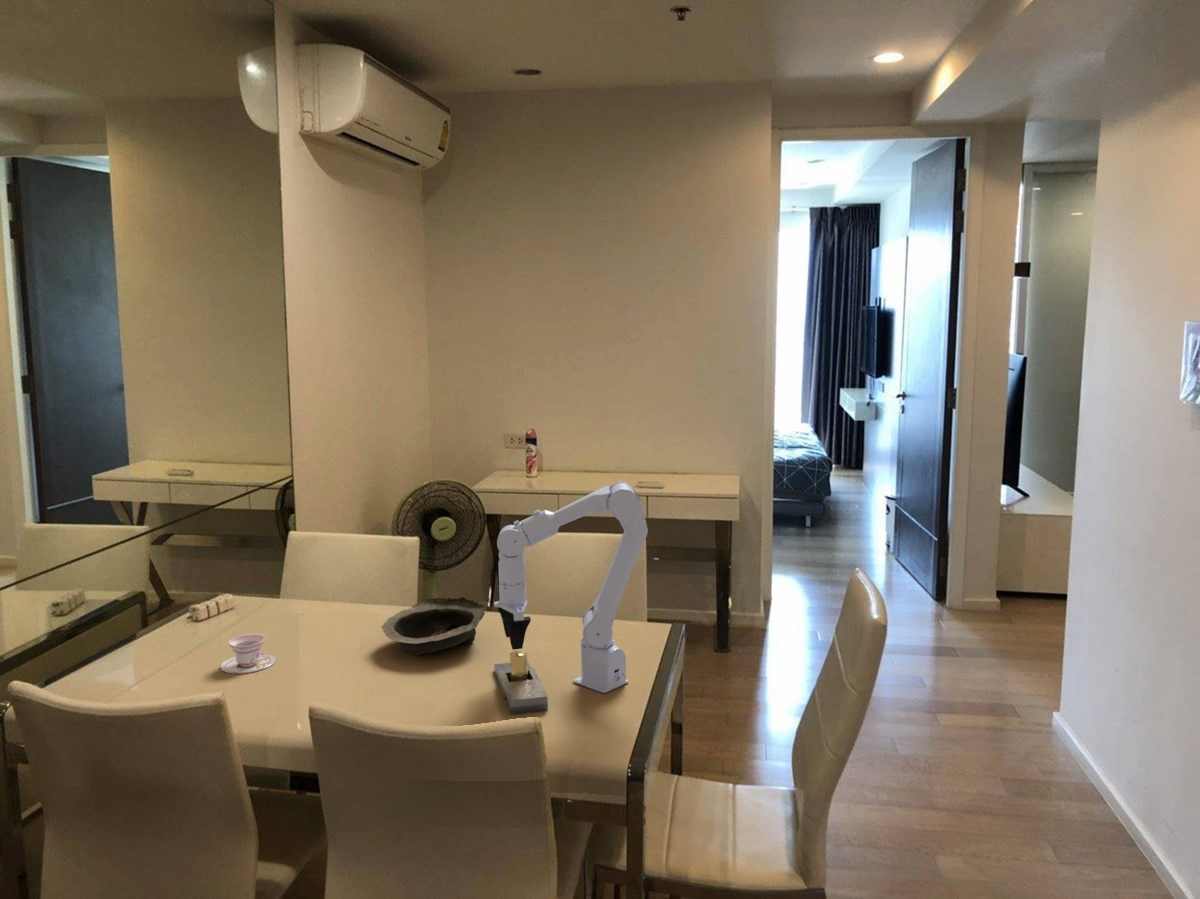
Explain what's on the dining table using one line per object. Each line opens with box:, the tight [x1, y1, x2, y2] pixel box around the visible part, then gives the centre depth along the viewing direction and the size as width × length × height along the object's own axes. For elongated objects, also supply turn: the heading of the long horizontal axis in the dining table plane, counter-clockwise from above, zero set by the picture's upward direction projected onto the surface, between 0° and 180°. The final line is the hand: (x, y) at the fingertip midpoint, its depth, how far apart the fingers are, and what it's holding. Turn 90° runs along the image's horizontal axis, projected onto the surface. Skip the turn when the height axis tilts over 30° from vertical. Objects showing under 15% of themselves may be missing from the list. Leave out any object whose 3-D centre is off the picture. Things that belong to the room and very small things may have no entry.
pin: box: [509, 650, 528, 682], centre depth 198 cm, size 4×4×8 cm
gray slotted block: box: [493, 660, 549, 716], centre depth 198 cm, size 24×8×3 cm, turn 14°
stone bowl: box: [380, 596, 486, 656], centre depth 225 cm, size 25×25×9 cm
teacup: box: [220, 632, 276, 675], centre depth 215 cm, size 12×12×6 cm
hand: (514, 642), depth 200 cm, fingers open, 7 cm apart
